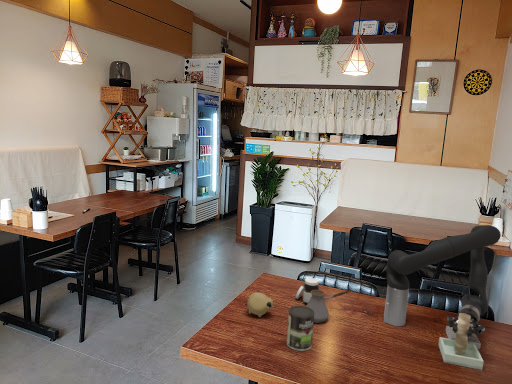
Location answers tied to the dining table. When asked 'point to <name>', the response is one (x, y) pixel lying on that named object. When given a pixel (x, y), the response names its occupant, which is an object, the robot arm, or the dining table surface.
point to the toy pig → (259, 304)
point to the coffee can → (300, 328)
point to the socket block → (470, 339)
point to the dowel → (462, 333)
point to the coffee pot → (320, 305)
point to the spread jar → (308, 289)
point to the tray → (452, 357)
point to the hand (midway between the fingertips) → (461, 332)
